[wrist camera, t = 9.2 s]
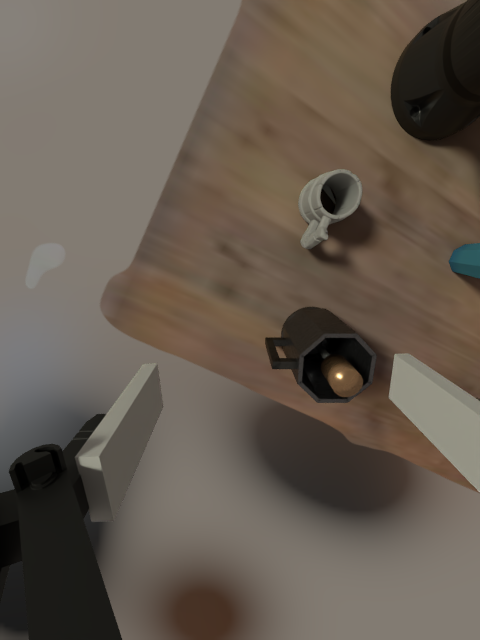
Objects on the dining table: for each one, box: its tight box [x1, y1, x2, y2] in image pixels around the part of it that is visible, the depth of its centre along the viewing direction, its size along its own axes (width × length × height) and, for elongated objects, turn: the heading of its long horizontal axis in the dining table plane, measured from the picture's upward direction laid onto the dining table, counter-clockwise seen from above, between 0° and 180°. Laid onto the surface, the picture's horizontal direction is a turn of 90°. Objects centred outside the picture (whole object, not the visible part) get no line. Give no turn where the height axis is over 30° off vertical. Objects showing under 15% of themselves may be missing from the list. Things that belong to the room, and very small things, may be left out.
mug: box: [298, 169, 362, 249], centre depth 41 cm, size 8×12×12 cm, turn 158°
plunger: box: [308, 338, 363, 397], centre depth 44 cm, size 6×6×17 cm
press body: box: [265, 307, 377, 403], centre depth 46 cm, size 15×11×15 cm
